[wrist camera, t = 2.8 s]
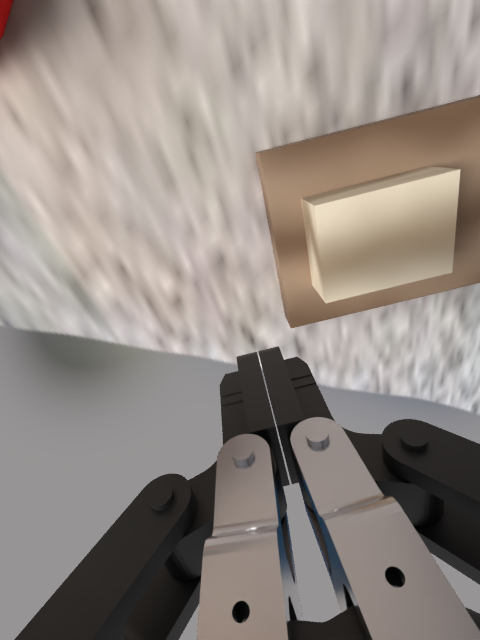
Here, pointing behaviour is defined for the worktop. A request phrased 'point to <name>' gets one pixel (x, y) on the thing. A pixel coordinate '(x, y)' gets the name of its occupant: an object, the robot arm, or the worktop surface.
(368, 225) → the tile
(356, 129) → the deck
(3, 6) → the white crested dome
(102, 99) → the worktop surface
